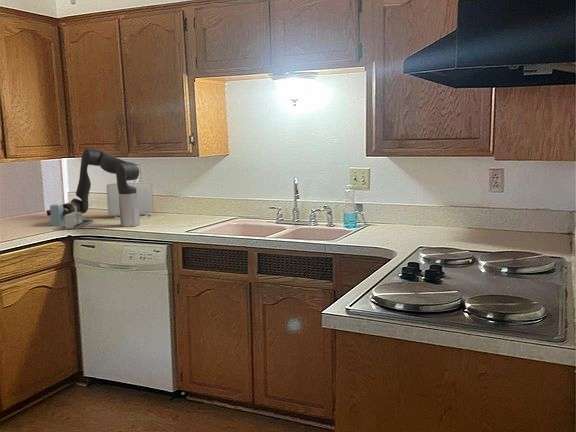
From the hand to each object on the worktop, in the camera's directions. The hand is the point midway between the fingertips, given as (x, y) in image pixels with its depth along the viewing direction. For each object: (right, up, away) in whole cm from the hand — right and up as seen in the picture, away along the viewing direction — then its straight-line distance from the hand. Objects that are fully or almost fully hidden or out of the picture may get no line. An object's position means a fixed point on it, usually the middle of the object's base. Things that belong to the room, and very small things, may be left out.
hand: (55, 213), depth 314 cm
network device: (+33, -2, +30) cm, 44 cm away
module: (0, -6, +3) cm, 7 cm away
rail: (+12, -6, 0) cm, 14 cm away
